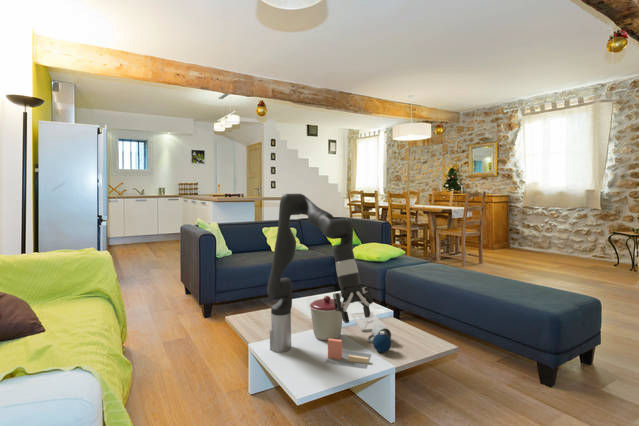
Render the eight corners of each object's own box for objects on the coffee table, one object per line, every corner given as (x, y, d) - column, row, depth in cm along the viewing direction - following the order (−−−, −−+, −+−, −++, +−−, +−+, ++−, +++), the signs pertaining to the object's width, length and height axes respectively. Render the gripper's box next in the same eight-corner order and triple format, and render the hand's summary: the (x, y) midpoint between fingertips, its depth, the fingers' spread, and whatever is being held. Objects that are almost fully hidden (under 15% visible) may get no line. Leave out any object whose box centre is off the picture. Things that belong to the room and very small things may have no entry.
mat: (324, 363, 158) (324, 358, 158) (333, 350, 171) (333, 345, 171) (366, 369, 152) (366, 364, 152) (371, 355, 166) (371, 349, 166)
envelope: (361, 333, 193) (386, 331, 195) (361, 329, 193) (386, 327, 195) (350, 316, 216) (372, 315, 219) (350, 313, 216) (372, 311, 218)
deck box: (327, 357, 162) (327, 340, 162) (329, 355, 164) (329, 338, 164) (341, 359, 161) (341, 341, 160) (342, 357, 163) (342, 339, 162)
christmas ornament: (394, 354, 167) (395, 332, 166) (378, 357, 164) (378, 335, 163) (385, 346, 175) (385, 326, 174) (369, 349, 172) (369, 328, 171)
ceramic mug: (383, 336, 186) (383, 322, 186) (391, 343, 178) (391, 327, 178) (364, 339, 183) (364, 324, 183) (371, 346, 175) (371, 330, 175)
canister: (326, 327, 199) (326, 289, 198) (352, 336, 186) (352, 296, 185) (302, 336, 187) (301, 296, 185) (327, 347, 174) (327, 304, 172)
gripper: (358, 271, 137) (368, 316, 133) (325, 278, 130) (334, 324, 127) (370, 269, 130) (380, 315, 127) (335, 275, 124) (345, 324, 120)
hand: (357, 320), depth 127 cm, fingers open, 8 cm apart
